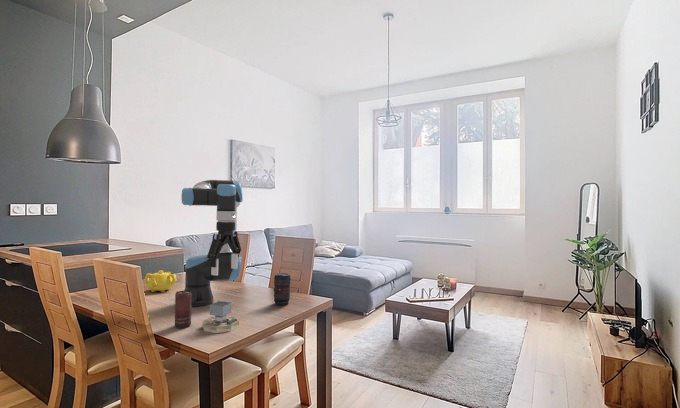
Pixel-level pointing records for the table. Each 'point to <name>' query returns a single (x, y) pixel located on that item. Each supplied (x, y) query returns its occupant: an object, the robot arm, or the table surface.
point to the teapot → (160, 281)
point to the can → (183, 309)
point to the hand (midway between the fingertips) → (224, 271)
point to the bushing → (220, 311)
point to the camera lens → (282, 289)
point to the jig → (213, 327)
